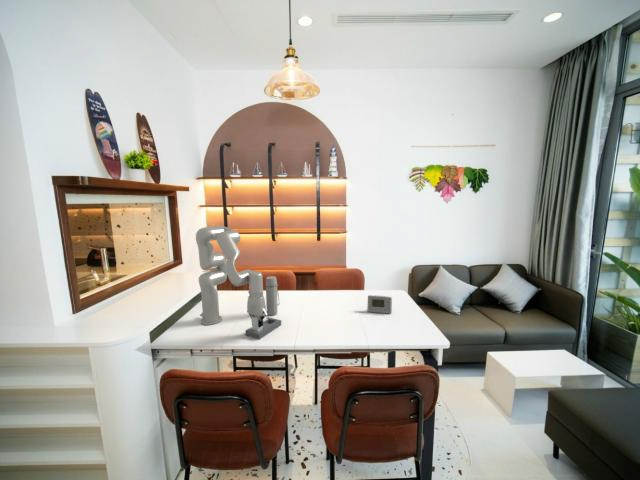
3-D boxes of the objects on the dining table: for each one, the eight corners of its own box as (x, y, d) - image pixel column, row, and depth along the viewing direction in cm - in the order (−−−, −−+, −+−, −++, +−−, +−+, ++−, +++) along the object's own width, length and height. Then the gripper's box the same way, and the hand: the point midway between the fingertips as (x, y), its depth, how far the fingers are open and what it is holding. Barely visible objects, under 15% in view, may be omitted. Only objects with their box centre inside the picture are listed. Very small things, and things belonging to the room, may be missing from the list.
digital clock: (366, 312, 185) (366, 296, 183) (369, 307, 193) (369, 292, 191) (390, 316, 178) (390, 300, 176) (393, 311, 186) (393, 296, 184)
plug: (252, 332, 154) (251, 315, 152) (257, 329, 157) (256, 313, 156) (258, 333, 152) (257, 316, 151) (262, 330, 155) (262, 314, 154)
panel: (245, 335, 153) (245, 330, 153) (268, 321, 171) (267, 316, 170) (259, 339, 148) (259, 333, 148) (281, 324, 166) (281, 319, 166)
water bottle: (269, 317, 178) (268, 279, 174) (264, 313, 184) (263, 277, 181) (282, 313, 183) (281, 277, 180) (276, 310, 189) (275, 274, 186)
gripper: (240, 294, 152) (241, 325, 155) (263, 298, 145) (265, 331, 147) (249, 290, 159) (250, 320, 161) (272, 294, 151) (273, 325, 154)
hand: (257, 325), depth 154 cm, fingers closed on plug, 4 cm apart
